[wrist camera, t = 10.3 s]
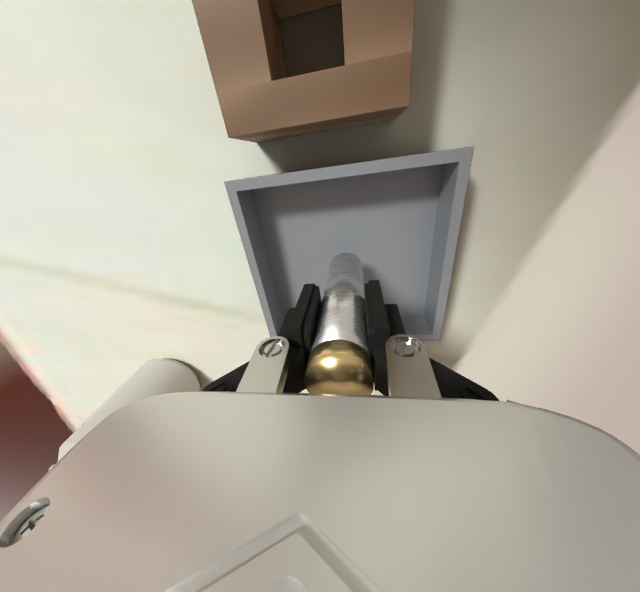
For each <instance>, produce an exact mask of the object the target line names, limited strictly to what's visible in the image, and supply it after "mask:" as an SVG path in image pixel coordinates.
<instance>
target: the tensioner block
mask: <svg viewBox="0 0 640 592" xmlns="http://www.w3.org/2000/svg"><path fill="white" fill-rule="evenodd" d="M192 3H193V7H194V10H195V14H196V18H197V21H198V25H199V29H200V33H201V36H202V40H203V44H204V48H205V51H206V55H207V59H208V63H209V66H210V70H211V74H212V78H213V81H214V85H215V89H216V93H217V96H218V100H219V104H220V107H221V111H222V115H223V119H224V122H225V126H226V130H227V134H228V137H229V138H234V139H240V140H245V141H251V142H262V141H268V140H274V139H280V138H286V137H292V136H298V135H303V134H309V133H315V132H321V131H327V130H333V129H339V128H345V127H351V126H357V125H363V124H368V123H374V122H380V121H386V120H392V119H396V118H397V117H398V116H399V115H400V114H401V113H402V112H403V111H404V110H405V109H406V108H407V107H408V106H409V98H410V79H411V60H412V42H413V23H414V4H415V0H192ZM341 3H342V19H343V39H344V58H345V65H343V66H339V67H334V68H330V69H325V70H320V71H316V72H311V73H306V74H302V75H297V76H292V77H288V75H287V68H286V61H285V54H284V47H283V40H282V33H281V26H280V20H279V19H283V18H287V17H291V16H295V15H298V14H302V13H306V12H310V11H314V10H318V9H321V8H325V7H329V6H333V5H337V4H341Z"/></svg>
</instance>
